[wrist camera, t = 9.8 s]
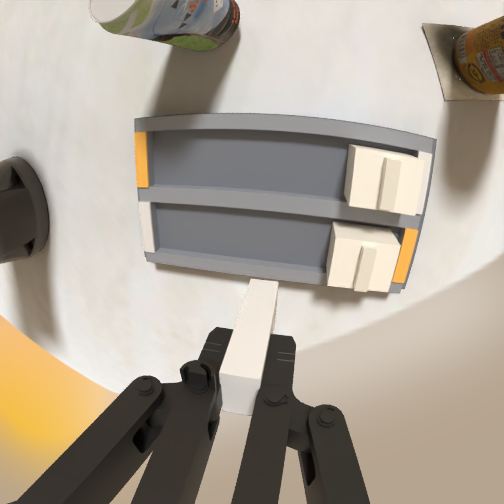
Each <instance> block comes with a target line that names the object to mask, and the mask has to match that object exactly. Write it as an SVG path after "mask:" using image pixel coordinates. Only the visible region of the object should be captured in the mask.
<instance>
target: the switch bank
mask: <svg viewBox="0 0 504 504" xmlns="http://www.w3.org/2000/svg"><path fill="white" fill-rule="evenodd" d="M134 122H135V159H136V177H137V189H138V201H139V213H140V222H141V231H142V239H143V247H144V253H145V257H146V260H147V262H154V263H160V264H167V265H173V266H180V267H187V268H194V269H201V270H208V271H215V272H222V273H230V274H237V275H244V276H252V277H260V278H267V279H275V280H283V281H291V282H299V283H308V284H316V285H325V286H327V269H326V262H327V256H328V250H329V244H330V237H331V230H332V223H333V221H338V222H346V223H354V224H361V225H369V226H376V227H383V228H390V230H391V231H392V233H393V234H394V236H395V237H396V239H397V241H398V242H399V244H400V245H401V247H400V251H399V255H398V259H397V263H396V266H395V270H394V274H393V277H392V281H391V284H390V287H389V291H388V292H390V293H400V291H401V289H405V286H406V283H407V280H408V277H409V273H410V270H411V267H412V263H413V260H414V256H415V253H416V249H417V245H418V241H419V237H420V233H421V229H422V225H423V220H424V216H425V211H426V206H427V201H428V196H429V190H430V185H431V179H432V172H433V165H434V158H435V150H436V141H437V139H434V138H430V137H426V136H422V135H418V134H414V133H409V132H405V131H400V130H395V129H391V128H385V127H380V126H375V125H369V124H363V123H356V122H350V121H342V120H335V119H326V118H317V117H307V116H295V115H280V114H259V113H202V114H181V115H166V116H155V117H145V118H136V119H134ZM349 144H352V145H359V146H365V147H371V148H377V149H383V150H388V151H393V152H399V153H404V154H408V155H411V156H414V157H416V158H419V159H422V160H424V161H425V162H424V169H423V176H422V182H421V188H420V194H419V199H418V204H417V209H416V214H415V216H412V215H406V214H400V213H394V212H388V211H381V210H374V209H367V208H360V207H353V206H349V205H348V202H347V200H346V198H345V195H344V187H345V179H346V170H347V160H348V150H349ZM370 291H371V290H370Z"/></svg>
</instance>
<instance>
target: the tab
mask: <svg viewBox="0 0 504 504" xmlns="http://www.w3.org/2000/svg"><path fill="white" fill-rule="evenodd" d="M400 247H401V245H400V244H399V242H398V241H397V239H396V237H395V236H394V234H393V233H392V231H391V230H390V228H383V227H376V226H369V225H361V224H354V223H346V222H338V221H333V223H332V230H331V237H330V244H329V250H328V256H327V262H326V269H327V286H334V287H343V288H352V289H354V291H360V292H367V290H371V291H380V292H388V291H389V287H390V284H391V281H392V277H393V274H394V270H395V266H396V263H397V259H398V255H399V251H400Z"/></svg>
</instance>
